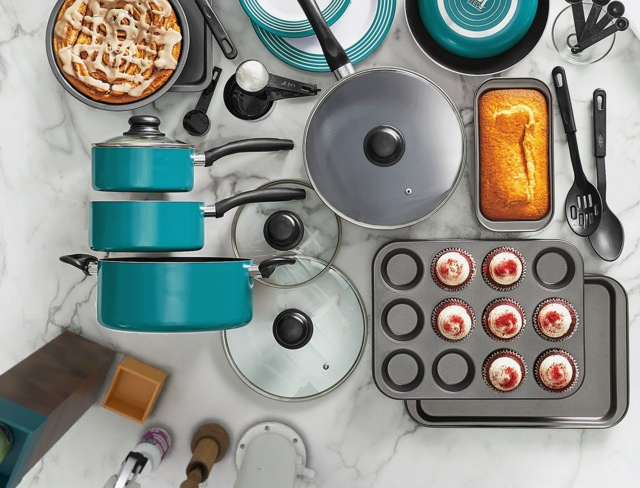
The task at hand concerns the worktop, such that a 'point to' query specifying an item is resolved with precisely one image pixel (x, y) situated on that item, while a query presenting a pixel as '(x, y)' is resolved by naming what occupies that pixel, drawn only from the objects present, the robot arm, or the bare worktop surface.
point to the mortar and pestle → (205, 453)
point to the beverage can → (5, 441)
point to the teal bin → (19, 440)
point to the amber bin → (134, 390)
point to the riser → (58, 384)
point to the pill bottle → (153, 449)
